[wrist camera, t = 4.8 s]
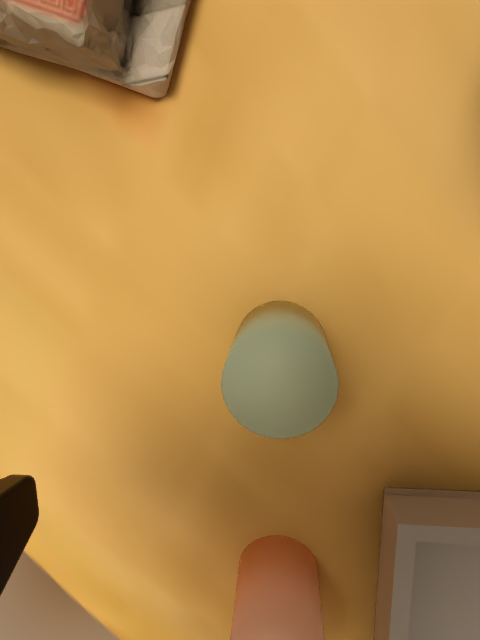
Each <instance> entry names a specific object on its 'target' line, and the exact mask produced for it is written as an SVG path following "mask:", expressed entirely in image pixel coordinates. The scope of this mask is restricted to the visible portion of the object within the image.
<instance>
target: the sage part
mask: <svg viewBox="0 0 480 640" xmlns="http://www.w3.org/2000/svg"><path fill="white" fill-rule="evenodd" d="M221 385H222V393H223V397H224V400H225V403H226V405H227V407H228V409H229V411H230V412H231V414H232V415H233V417H234V418H235V419H236V420H237V421H238V422H239V423H240V424H241V425H243V426H244V427H245V428H247V429H248V430H250V431H252V432H254V433H256V434H258V435H261V436H264V437H269V438H276V439H287V438H294V437H297V436H301V435H303V434H306V433H308V432H310V431H312V430H313V429H315V428H316V427H318V426H319V425H320V424H321V423H322V422H323V421H324V420H325V419H326V418H327V417H328V415H329V414H330V412H331V411H332V409H333V407H334V404H335V402H336V399H337V395H338V375H337V371H336V368H335V365H334V362H333V359H332V356H331V353H330V350H329V347H328V345H327V342H326V339H325V336H324V333H323V330H322V328H321V326H320V323H319V322H318V320H317V319H316V318H315V316H314V315H313V314H312V313H311V312H309V311H308V310H307V309H305V308H304V307H302V306H300V305H298V304H295V303H292V302H287V301H273V302H268V303H265V304H262V305H260V306H258V307H257V308H255V309H253V310H252V311H251V312H250V313H249V314H248V315H247V316H246V317H245V318H244V320H243V321H242V323H241V325H240V327H239V329H238V332H237V334H236V337H235V339H234V342H233V345H232V347H231V350H230V353H229V355H228V358H227V360H226V363H225V366H224V369H223V373H222V383H221Z"/></svg>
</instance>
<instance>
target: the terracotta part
mask: <svg viewBox="0 0 480 640" xmlns="http://www.w3.org/2000/svg"><path fill="white" fill-rule="evenodd" d="M230 640H325V639H324V629H323V619H322V609H321V599H320V589H319V579H318V569H317V563H316V560H315V558H314V556H313V554H312V553H311V552H310V550H309V549H308V548H307V547H306V546H304V545H303V544H302V543H300V542H299V541H297V540H295V539H292V538H289V537H285V536H267V537H263V538H260V539H258V540H256V541H254V542H253V543H251V544H250V545H249V546H248V547H247V548H246V549H245V550H244V552H243V554H242V556H241V559H240V563H239V571H238V579H237V588H236V596H235V604H234V612H233V620H232V628H231V636H230Z"/></svg>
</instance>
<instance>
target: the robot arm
mask: <svg viewBox="0 0 480 640" xmlns="http://www.w3.org/2000/svg"><path fill="white" fill-rule="evenodd" d="M38 517H39V508H38V499H37V491H36V483H35V480H34V478H33V477H32V476H30V475H15V474H14V475H9V476H7V477H5V478H2V479H0V595H1V593H2V592H3V590H4V588H5V586H6V584H7V582H8V580H9V578H10V576H11V574H12V572H13V570H14V568H15V566H16V564H17V562H18V560H19V558H20V556H21V554H22V552H23V550H24V548H25V546H26V544H27V542H28V540H29V538H30V536H31V534H32V532H33V530H34V528H35V526H36V524H37V521H38Z"/></svg>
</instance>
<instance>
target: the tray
mask: <svg viewBox="0 0 480 640" xmlns="http://www.w3.org/2000/svg"><path fill="white" fill-rule="evenodd" d="M374 640H480V492H477V491H454V490H430V489H406V488H384V499H383V513H382V528H381V542H380V557H379V571H378V586H377V600H376V615H375V629H374Z"/></svg>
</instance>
